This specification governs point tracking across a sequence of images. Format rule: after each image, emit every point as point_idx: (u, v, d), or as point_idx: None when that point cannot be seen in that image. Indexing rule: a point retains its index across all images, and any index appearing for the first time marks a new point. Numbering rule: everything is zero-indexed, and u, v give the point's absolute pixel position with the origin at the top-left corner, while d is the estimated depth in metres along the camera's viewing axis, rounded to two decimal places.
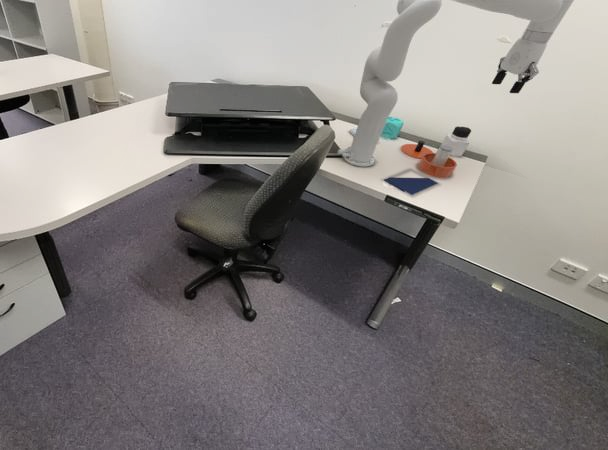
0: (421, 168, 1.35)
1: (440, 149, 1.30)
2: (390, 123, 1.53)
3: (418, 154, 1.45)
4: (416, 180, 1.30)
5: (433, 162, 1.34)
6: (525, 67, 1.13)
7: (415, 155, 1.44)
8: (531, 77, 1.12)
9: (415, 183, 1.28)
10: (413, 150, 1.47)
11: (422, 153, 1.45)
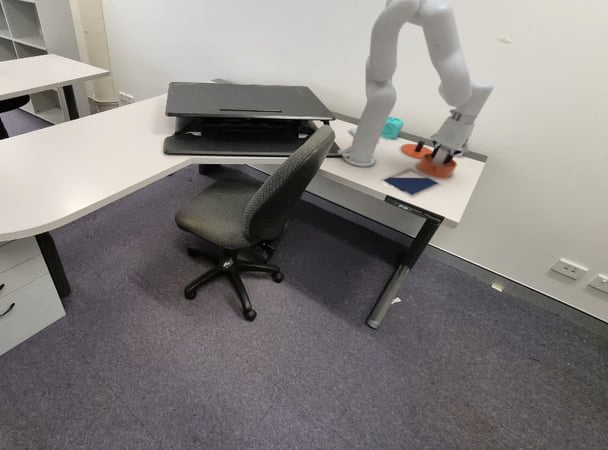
0: (421, 168, 1.35)
1: (440, 149, 1.30)
2: (390, 123, 1.53)
3: (418, 154, 1.45)
4: (416, 180, 1.30)
5: (433, 162, 1.34)
6: (462, 144, 1.23)
7: (415, 155, 1.44)
8: None
9: (415, 183, 1.28)
10: (413, 150, 1.47)
11: (422, 153, 1.45)
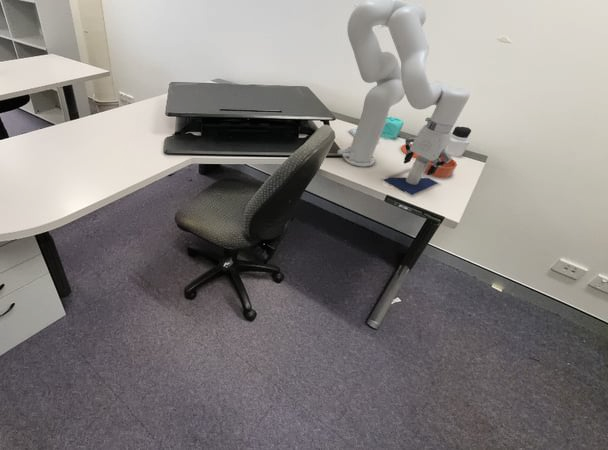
0: None
1: (417, 160, 1.23)
2: (390, 123, 1.53)
3: None
4: None
5: (410, 173, 1.27)
6: (438, 154, 1.16)
7: (415, 155, 1.44)
8: (445, 163, 1.16)
9: None
10: None
11: None
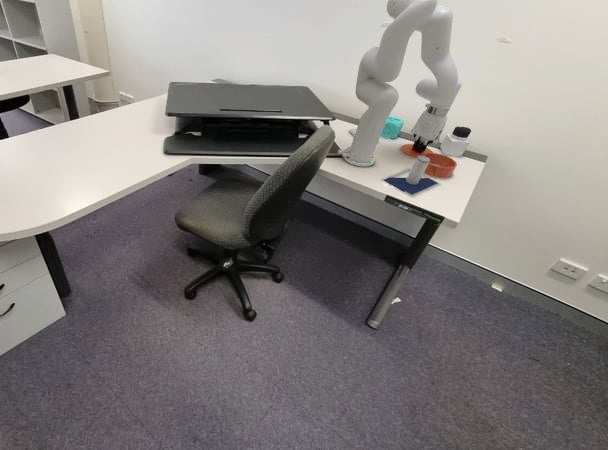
0: None
1: (417, 160, 1.23)
2: (390, 123, 1.53)
3: (418, 154, 1.45)
4: None
5: (410, 173, 1.27)
6: (436, 135, 1.37)
7: (415, 155, 1.44)
8: None
9: None
10: (413, 150, 1.47)
11: (422, 153, 1.45)
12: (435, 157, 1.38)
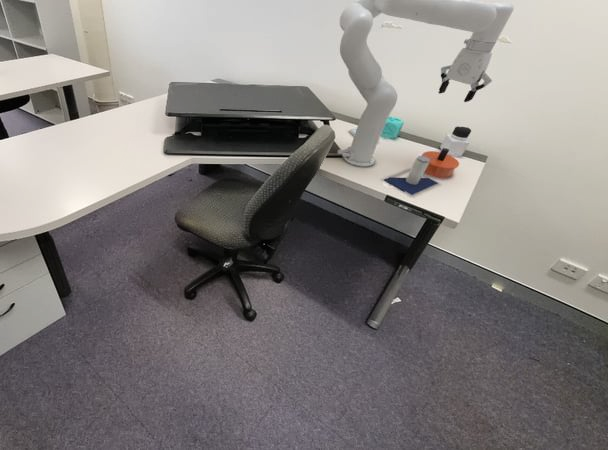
0: None
1: (417, 160, 1.23)
2: (390, 123, 1.53)
3: (442, 163, 1.30)
4: None
5: (410, 173, 1.27)
6: (478, 77, 1.13)
7: (438, 164, 1.30)
8: None
9: None
10: (436, 158, 1.33)
11: (446, 162, 1.31)
12: None
